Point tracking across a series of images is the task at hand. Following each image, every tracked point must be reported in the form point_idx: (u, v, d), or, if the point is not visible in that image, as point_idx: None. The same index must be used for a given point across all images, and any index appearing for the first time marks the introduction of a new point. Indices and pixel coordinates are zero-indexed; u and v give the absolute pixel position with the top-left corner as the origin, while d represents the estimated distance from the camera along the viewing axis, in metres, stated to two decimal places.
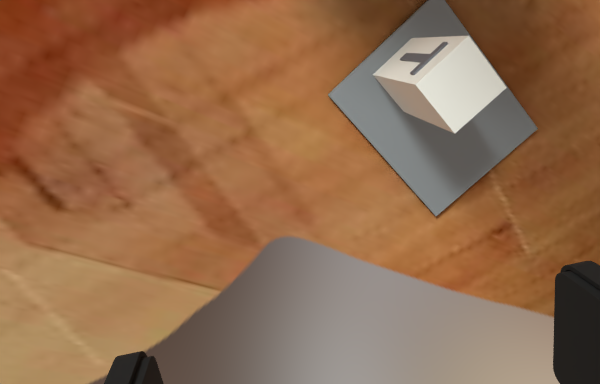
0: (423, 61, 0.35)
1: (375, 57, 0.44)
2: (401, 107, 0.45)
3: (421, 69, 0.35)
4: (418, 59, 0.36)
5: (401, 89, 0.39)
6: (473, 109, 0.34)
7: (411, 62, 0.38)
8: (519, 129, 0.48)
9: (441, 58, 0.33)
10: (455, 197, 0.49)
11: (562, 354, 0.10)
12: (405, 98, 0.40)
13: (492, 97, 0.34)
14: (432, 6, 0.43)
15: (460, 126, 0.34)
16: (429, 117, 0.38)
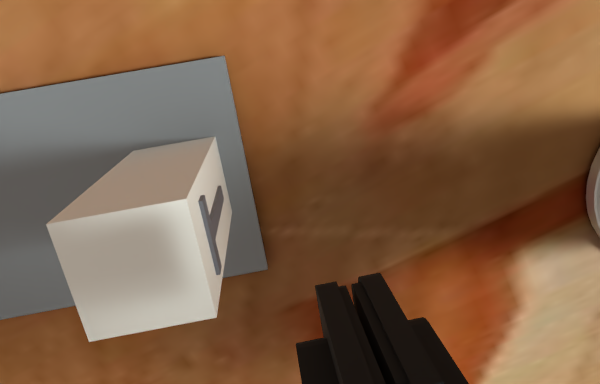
0: (210, 225, 0.19)
1: (236, 152, 0.28)
2: (142, 151, 0.27)
3: (201, 217, 0.18)
4: (214, 216, 0.21)
5: (178, 166, 0.21)
6: (78, 275, 0.17)
7: (212, 201, 0.22)
8: (11, 295, 0.30)
9: (204, 259, 0.17)
10: None
11: None
12: (158, 165, 0.22)
13: (83, 314, 0.17)
14: (255, 254, 0.30)
15: (56, 239, 0.16)
16: (105, 189, 0.20)
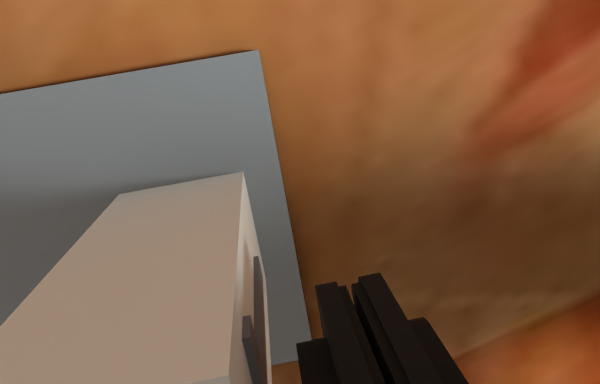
0: (261, 372, 0.10)
1: (274, 195, 0.19)
2: (133, 195, 0.18)
3: (248, 370, 0.09)
4: (261, 339, 0.11)
5: (195, 244, 0.12)
6: None
7: (252, 298, 0.13)
8: None
9: None
10: None
11: None
12: (158, 235, 0.13)
13: None
14: (298, 337, 0.21)
15: None
16: (58, 301, 0.10)
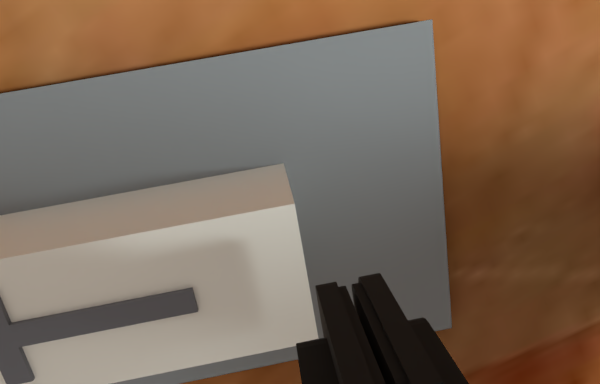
0: None
1: (431, 165, 0.19)
2: (268, 170, 0.18)
3: None
4: (46, 322, 0.14)
5: (86, 230, 0.14)
6: None
7: (106, 303, 0.14)
8: None
9: None
10: None
11: None
12: (133, 210, 0.16)
13: None
14: (438, 308, 0.21)
15: None
16: (66, 209, 0.17)
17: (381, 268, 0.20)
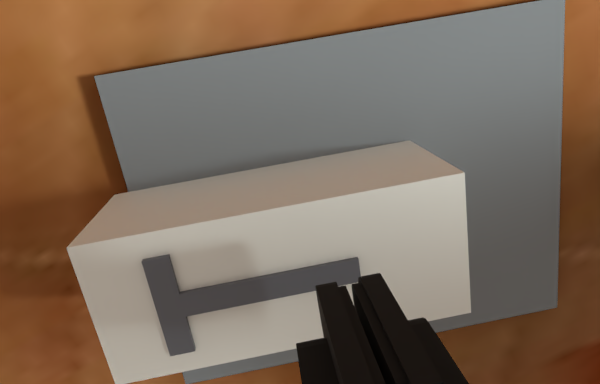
0: (168, 296, 0.14)
1: (551, 142, 0.19)
2: (399, 146, 0.18)
3: (141, 279, 0.14)
4: (215, 291, 0.14)
5: (248, 201, 0.15)
6: None
7: (272, 272, 0.14)
8: None
9: (108, 322, 0.14)
10: (122, 151, 0.17)
11: None
12: (283, 183, 0.16)
13: None
14: (545, 287, 0.21)
15: None
16: (202, 184, 0.17)
17: (494, 247, 0.20)
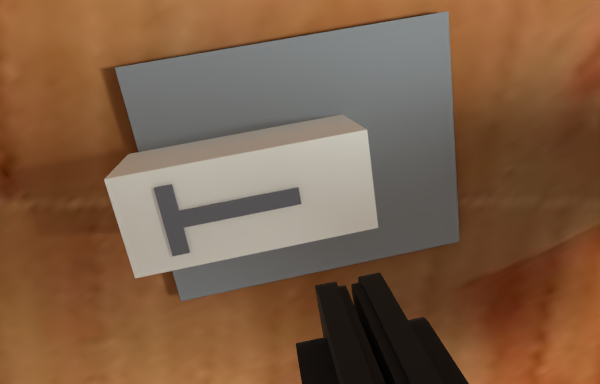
0: (171, 213, 0.21)
1: (446, 116, 0.27)
2: (333, 118, 0.25)
3: (153, 201, 0.21)
4: (203, 210, 0.21)
5: (225, 151, 0.21)
6: None
7: (241, 198, 0.21)
8: (197, 274, 0.27)
9: (130, 232, 0.21)
10: (134, 122, 0.24)
11: None
12: (249, 141, 0.23)
13: None
14: (449, 226, 0.29)
15: None
16: (193, 145, 0.24)
17: (409, 194, 0.28)
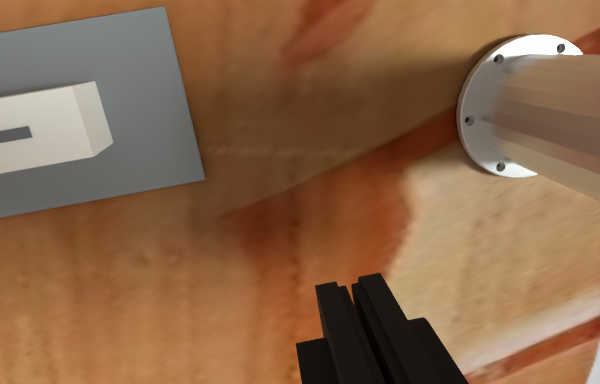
0: None
1: (176, 83, 0.36)
2: None
3: None
4: None
5: None
6: None
7: None
8: (1, 199, 0.38)
9: None
10: None
11: None
12: (7, 96, 0.33)
13: None
14: (194, 167, 0.39)
15: None
16: None
17: (157, 142, 0.38)
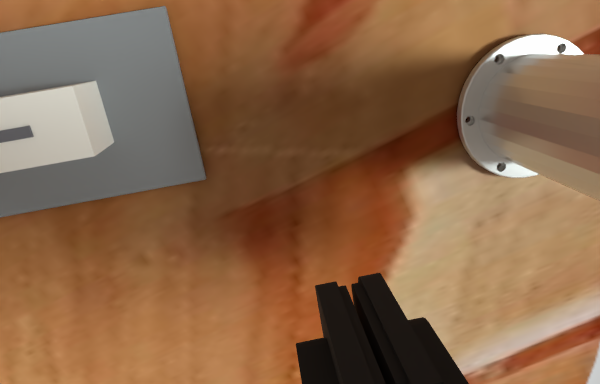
0: None
1: (177, 83, 0.36)
2: None
3: None
4: None
5: None
6: None
7: None
8: (2, 198, 0.38)
9: None
10: None
11: None
12: (8, 96, 0.33)
13: None
14: (195, 167, 0.39)
15: None
16: None
17: (158, 141, 0.38)
